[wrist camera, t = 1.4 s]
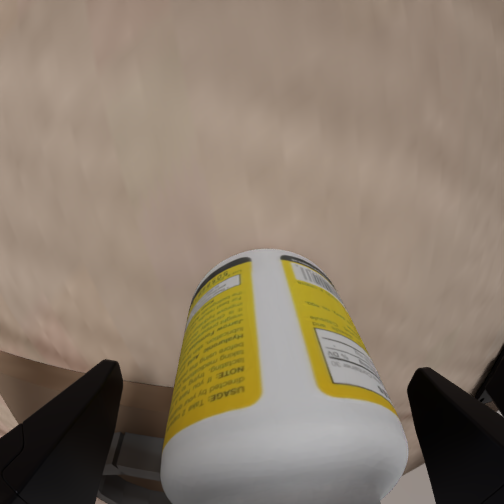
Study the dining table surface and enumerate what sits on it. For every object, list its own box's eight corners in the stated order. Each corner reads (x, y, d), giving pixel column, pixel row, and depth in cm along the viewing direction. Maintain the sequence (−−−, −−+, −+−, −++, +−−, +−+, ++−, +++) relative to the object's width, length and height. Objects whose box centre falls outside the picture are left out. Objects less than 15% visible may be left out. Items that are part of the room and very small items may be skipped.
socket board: (337, 392, 14) (355, 450, 10) (289, 495, 19) (293, 532, 15) (-1, 350, 12) (-31, 391, 9) (65, 466, 17) (54, 499, 14)
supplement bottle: (197, 364, 13) (173, 600, 4) (186, 243, 10) (83, 577, 1) (325, 362, 13) (386, 581, 4) (345, 244, 11) (517, 515, 2)
